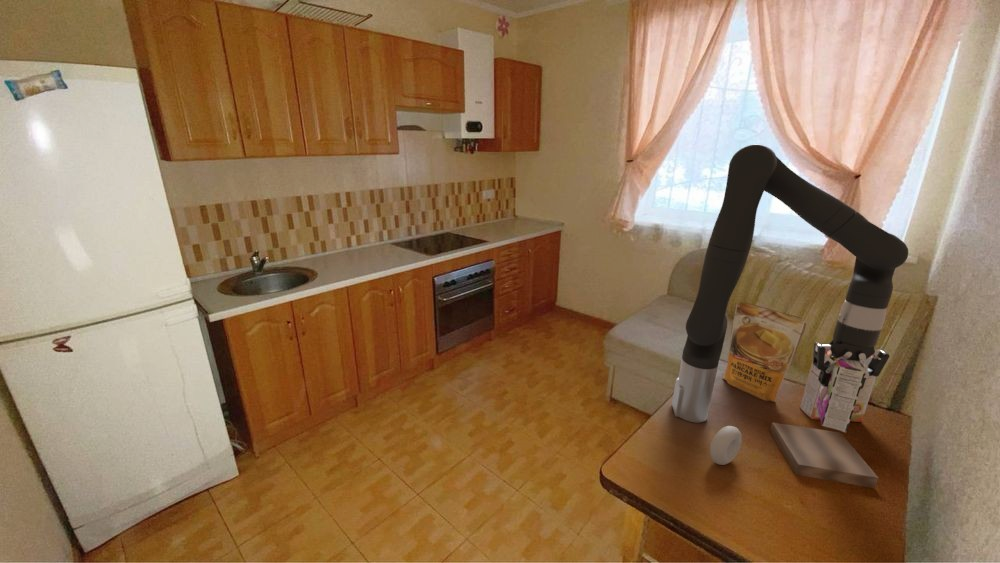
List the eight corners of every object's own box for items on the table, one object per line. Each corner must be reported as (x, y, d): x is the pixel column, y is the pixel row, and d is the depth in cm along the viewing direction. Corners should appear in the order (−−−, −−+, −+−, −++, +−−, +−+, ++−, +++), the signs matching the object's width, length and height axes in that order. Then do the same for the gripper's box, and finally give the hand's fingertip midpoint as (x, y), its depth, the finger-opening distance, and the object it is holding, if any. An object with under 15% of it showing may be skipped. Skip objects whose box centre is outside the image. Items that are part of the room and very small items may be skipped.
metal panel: (795, 474, 95) (798, 464, 94) (769, 431, 109) (772, 422, 108) (874, 488, 91) (878, 477, 90) (837, 441, 106) (840, 432, 105)
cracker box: (846, 410, 119) (867, 348, 112) (862, 423, 113) (885, 358, 107) (797, 407, 120) (815, 345, 114) (810, 419, 114) (829, 355, 108)
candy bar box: (814, 402, 102) (831, 345, 97) (838, 408, 100) (857, 350, 95) (819, 426, 93) (838, 364, 88) (846, 434, 91) (868, 371, 86)
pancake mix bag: (725, 373, 139) (741, 298, 130) (786, 400, 124) (809, 317, 115) (715, 378, 135) (730, 302, 126) (776, 407, 120) (799, 322, 111)
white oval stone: (727, 450, 102) (734, 417, 99) (740, 458, 99) (748, 425, 96) (703, 464, 97) (710, 430, 94) (716, 474, 94) (724, 439, 91)
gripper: (831, 325, 87) (811, 391, 92) (910, 332, 84) (885, 400, 89) (814, 312, 94) (797, 374, 99) (886, 319, 91) (865, 383, 96)
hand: (839, 386), depth 94 cm, fingers closed on candy bar box, 6 cm apart
